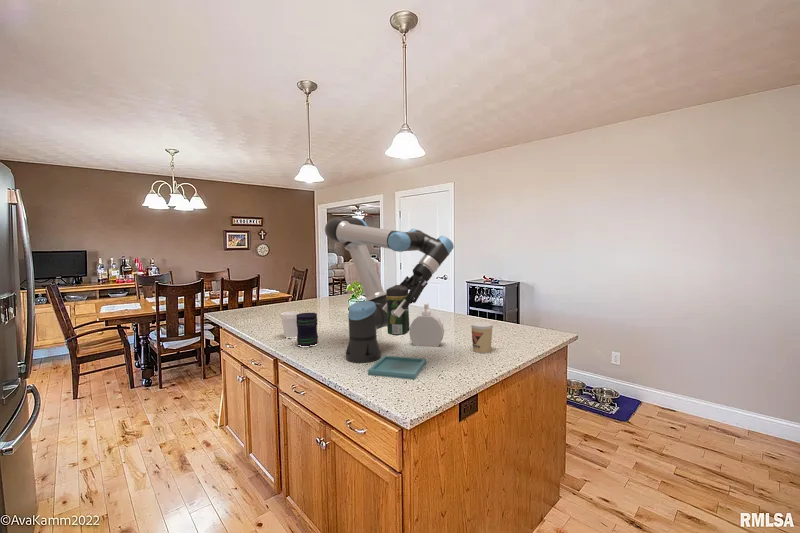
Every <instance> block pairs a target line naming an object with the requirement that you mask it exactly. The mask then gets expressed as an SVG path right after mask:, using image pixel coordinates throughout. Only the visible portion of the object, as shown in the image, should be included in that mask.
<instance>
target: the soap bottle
mask: <svg viewBox="0 0 800 533" xmlns="http://www.w3.org/2000/svg"><path fill="white" fill-rule="evenodd" d="M423 304H424V305H423V307H424V308H423V309H422V311H421V314H418V315H417V316H416V317H415V318H414V319H413V320H412V322H411V323H410V324H409V327H410V330H409V332H408V333H409V337H410V341H411V343H412V344H413V346H416V345H417V346H418V347H436V348H438V347H440V346H439V345H441V343H442V341H443V340H444V335H445V328H444V324H443V323H442V321H441V319H440V317H438V316H437V315H436V314H434V313H432V310H431V309H430V308H429V303H428V302H425V303H423Z"/></svg>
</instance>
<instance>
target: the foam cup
mask: <svg viewBox="0 0 800 533" xmlns="http://www.w3.org/2000/svg"><path fill="white" fill-rule="evenodd" d="M297 314H301V313H300V312H299V311H296V310H295V311H284V312H281V313H280V320H281V324H282V330H283V336H284V338H285V337H295V336H297V334H298V331H297V323H296V320H297V317H296V315H297Z"/></svg>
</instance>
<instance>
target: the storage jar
mask: <svg viewBox="0 0 800 533" xmlns="http://www.w3.org/2000/svg"><path fill="white" fill-rule="evenodd" d="M317 315H318V313H316V312H302V313H300V314H297V315H296V317H297V320H296V323H297V331H298V334H297V338H296V341H297V346H298V345H301V346H310V345H315V344H317V343H318V344H319V336H318V335H319V333H318V316H317Z"/></svg>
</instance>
